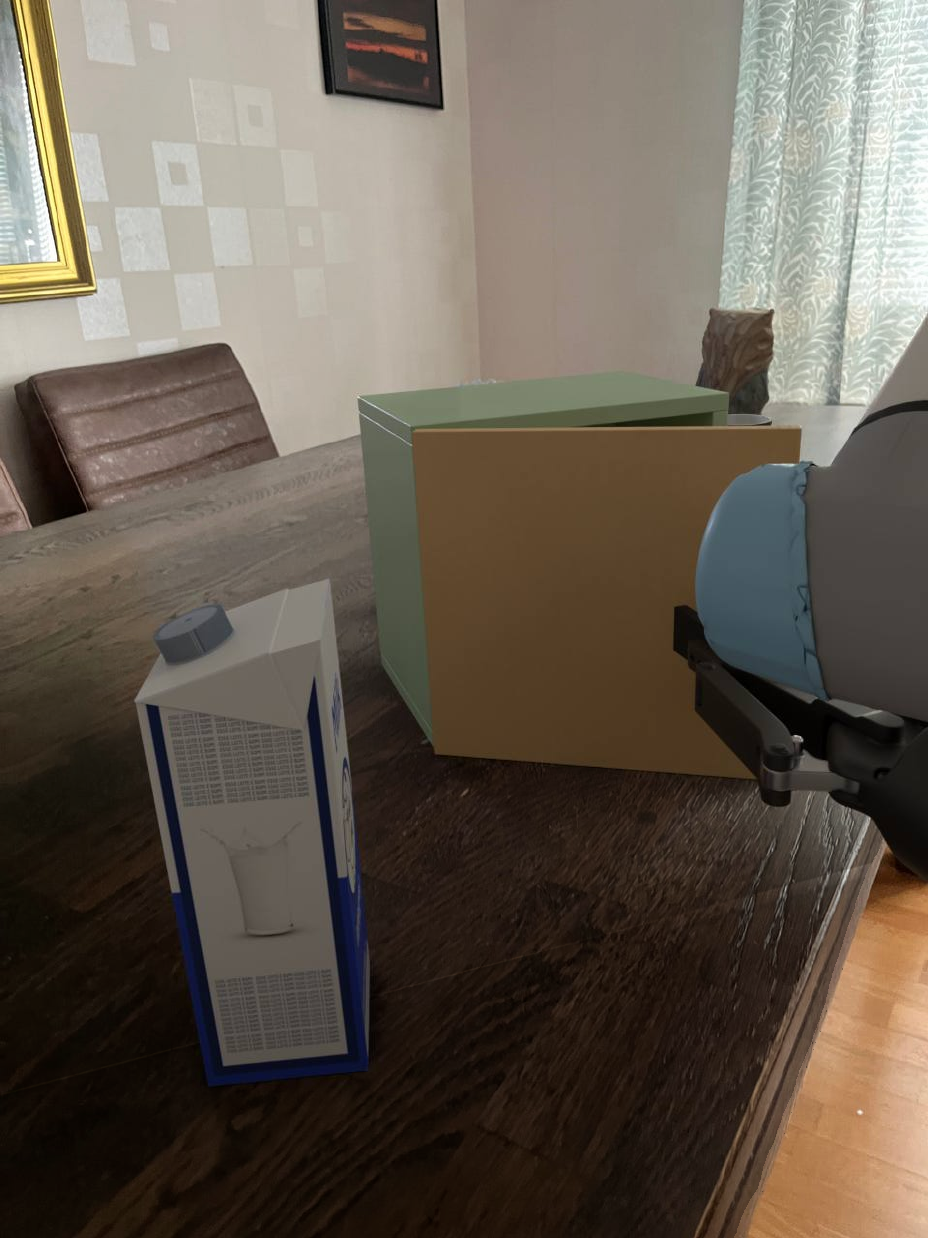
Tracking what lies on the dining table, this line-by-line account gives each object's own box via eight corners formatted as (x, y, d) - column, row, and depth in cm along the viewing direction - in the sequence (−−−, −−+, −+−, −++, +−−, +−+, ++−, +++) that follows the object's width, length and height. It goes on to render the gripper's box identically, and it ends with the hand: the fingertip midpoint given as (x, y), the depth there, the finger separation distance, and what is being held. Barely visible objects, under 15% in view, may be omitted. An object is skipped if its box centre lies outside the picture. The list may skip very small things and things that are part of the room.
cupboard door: (781, 834, 55) (810, 449, 48) (408, 800, 61) (379, 450, 53) (776, 773, 62) (800, 425, 54) (438, 747, 67) (416, 428, 59)
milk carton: (368, 1074, 41) (319, 634, 34) (207, 1091, 40) (123, 649, 33) (370, 960, 47) (329, 572, 40) (231, 973, 47) (166, 584, 40)
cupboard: (716, 692, 73) (729, 392, 65) (433, 748, 67) (410, 425, 59) (621, 623, 88) (622, 370, 80) (381, 664, 82) (357, 395, 74)
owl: (692, 413, 192) (695, 308, 185) (755, 409, 192) (761, 304, 185) (709, 423, 180) (713, 311, 173) (776, 419, 180) (783, 307, 173)
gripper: (1215, 706, 36) (820, 544, 57) (864, 787, 32) (580, 581, 53) (1173, 875, 39) (811, 660, 60) (844, 969, 35) (581, 704, 56)
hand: (703, 623), depth 56 cm, fingers open, 2 cm apart
